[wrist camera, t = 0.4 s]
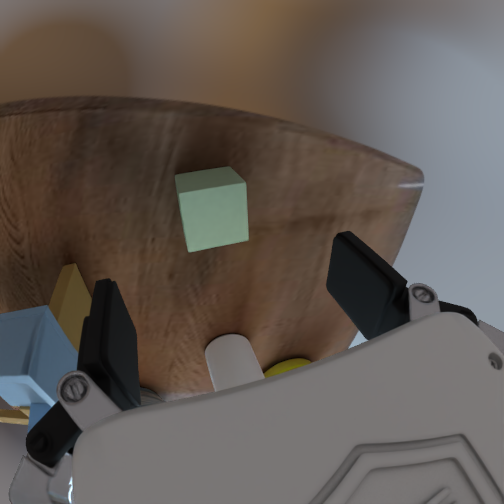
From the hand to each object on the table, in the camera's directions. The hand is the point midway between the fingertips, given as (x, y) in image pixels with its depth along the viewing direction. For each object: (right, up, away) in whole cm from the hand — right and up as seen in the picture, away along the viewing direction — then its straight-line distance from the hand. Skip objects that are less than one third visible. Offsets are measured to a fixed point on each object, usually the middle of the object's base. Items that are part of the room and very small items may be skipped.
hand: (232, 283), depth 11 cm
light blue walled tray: (-25, -12, +5) cm, 28 cm away
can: (-3, -12, +26) cm, 29 cm away
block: (-3, +6, +14) cm, 15 cm away
